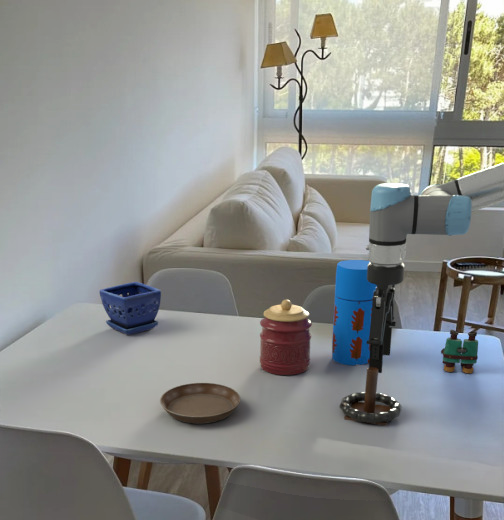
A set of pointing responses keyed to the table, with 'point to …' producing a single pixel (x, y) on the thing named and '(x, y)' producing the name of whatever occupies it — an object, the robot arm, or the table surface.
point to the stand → (370, 397)
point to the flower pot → (131, 307)
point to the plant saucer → (200, 402)
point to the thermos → (352, 313)
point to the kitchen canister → (285, 339)
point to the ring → (370, 416)
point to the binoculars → (460, 352)
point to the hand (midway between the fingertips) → (379, 362)
